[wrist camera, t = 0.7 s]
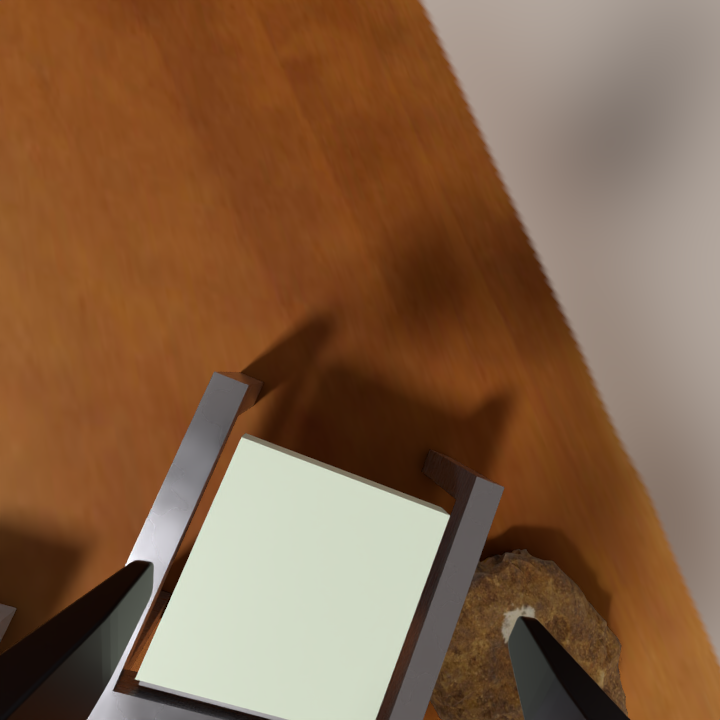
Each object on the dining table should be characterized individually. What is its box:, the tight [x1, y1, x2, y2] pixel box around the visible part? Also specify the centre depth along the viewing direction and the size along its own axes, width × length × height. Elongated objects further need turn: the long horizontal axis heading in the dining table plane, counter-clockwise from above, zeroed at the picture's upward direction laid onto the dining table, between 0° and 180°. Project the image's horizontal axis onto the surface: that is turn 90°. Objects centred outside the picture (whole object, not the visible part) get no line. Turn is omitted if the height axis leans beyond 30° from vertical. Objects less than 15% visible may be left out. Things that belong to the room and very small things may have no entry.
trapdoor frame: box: [87, 372, 504, 720], centre depth 18 cm, size 14×14×6 cm
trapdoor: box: [135, 433, 450, 720], centre depth 15 cm, size 10×10×1 cm
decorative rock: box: [430, 549, 628, 720], centre depth 21 cm, size 11×4×15 cm
